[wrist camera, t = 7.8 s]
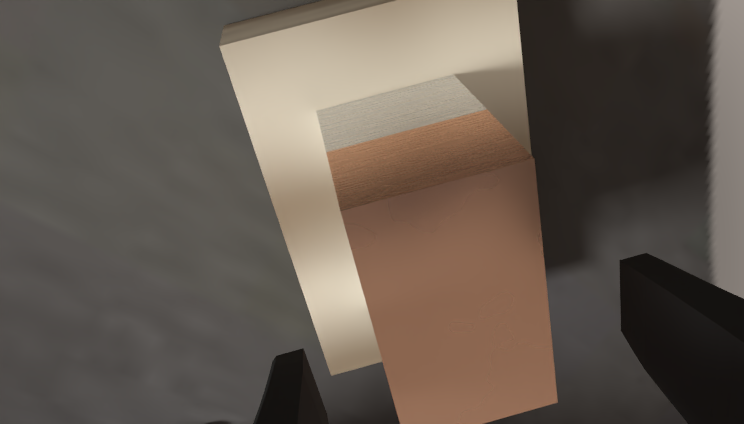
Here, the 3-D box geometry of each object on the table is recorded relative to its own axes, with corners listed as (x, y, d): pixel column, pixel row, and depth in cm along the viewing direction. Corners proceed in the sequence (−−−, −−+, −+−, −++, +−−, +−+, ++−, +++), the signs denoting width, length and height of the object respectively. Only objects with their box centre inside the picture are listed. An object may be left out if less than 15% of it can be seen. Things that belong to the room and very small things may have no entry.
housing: (316, 110, 18) (340, 211, 12) (453, 74, 18) (534, 158, 13) (369, 303, 21) (405, 445, 16) (484, 271, 21) (557, 402, 16)
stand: (521, 276, 25) (546, 315, 23) (324, 330, 24) (331, 375, 22) (484, -42, 19) (513, -31, 17) (223, 25, 19) (219, 46, 16)
